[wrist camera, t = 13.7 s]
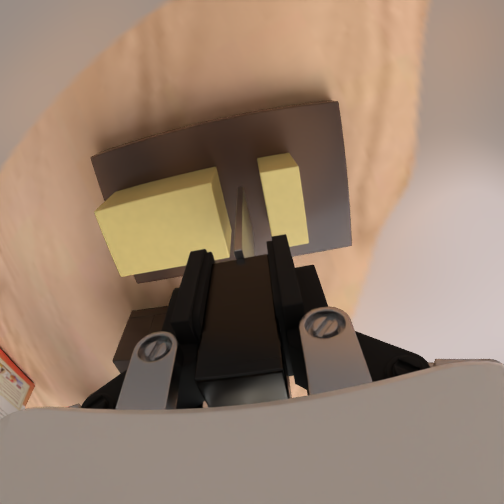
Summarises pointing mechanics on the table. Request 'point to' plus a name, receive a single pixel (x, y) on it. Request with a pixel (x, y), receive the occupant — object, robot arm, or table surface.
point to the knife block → (137, 333)
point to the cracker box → (12, 387)
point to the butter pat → (284, 197)
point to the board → (247, 169)
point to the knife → (241, 328)
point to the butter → (165, 222)
